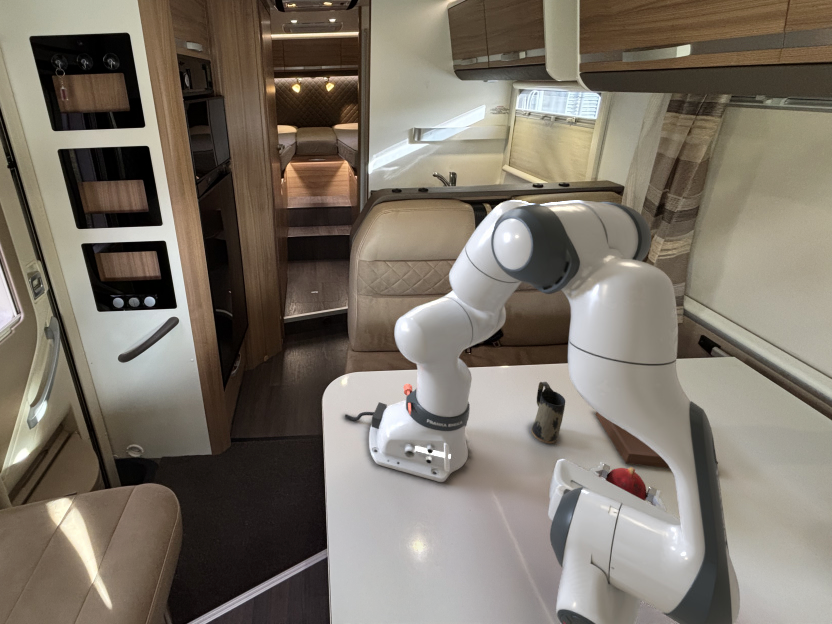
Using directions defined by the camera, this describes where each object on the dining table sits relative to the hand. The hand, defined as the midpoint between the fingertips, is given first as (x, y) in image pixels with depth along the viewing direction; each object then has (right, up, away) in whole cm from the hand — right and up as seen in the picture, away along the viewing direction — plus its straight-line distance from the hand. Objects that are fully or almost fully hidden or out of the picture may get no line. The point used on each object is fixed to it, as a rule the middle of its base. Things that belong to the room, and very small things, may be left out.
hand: (628, 478), depth 73 cm
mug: (0, -5, +29) cm, 30 cm away
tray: (+24, -6, +26) cm, 36 cm away
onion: (-1, -5, +1) cm, 5 cm away
